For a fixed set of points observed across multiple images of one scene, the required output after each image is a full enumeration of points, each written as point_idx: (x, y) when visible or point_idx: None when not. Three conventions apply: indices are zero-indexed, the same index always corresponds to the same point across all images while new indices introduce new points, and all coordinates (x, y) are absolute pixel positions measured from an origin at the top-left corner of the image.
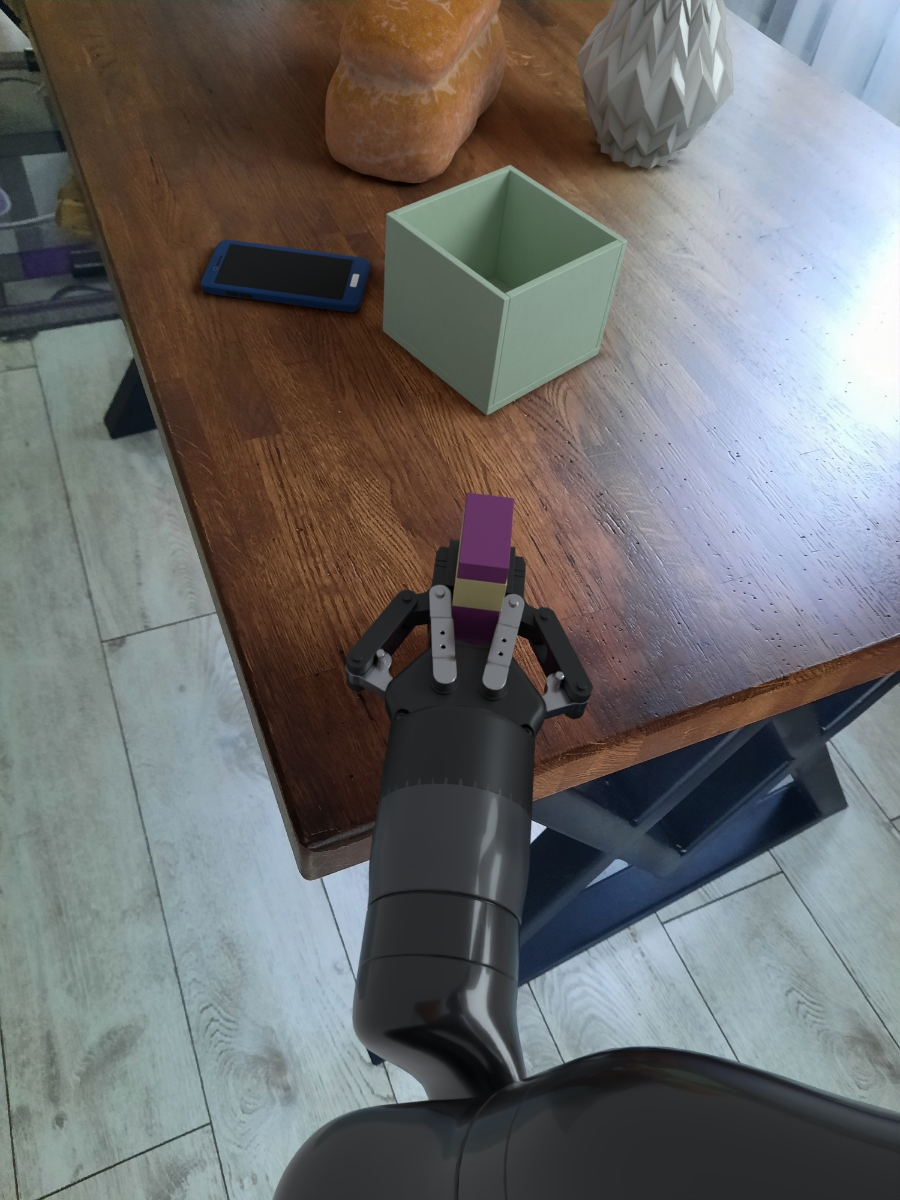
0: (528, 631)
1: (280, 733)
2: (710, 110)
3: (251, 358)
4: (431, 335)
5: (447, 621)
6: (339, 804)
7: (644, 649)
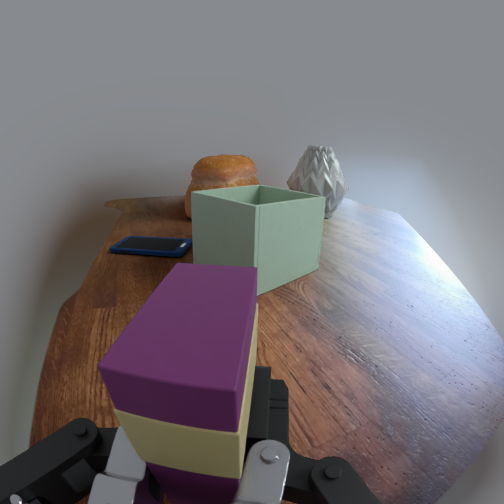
0: (299, 497)
1: None
2: (342, 192)
3: (118, 274)
4: (216, 254)
5: (123, 488)
6: None
7: (406, 450)
